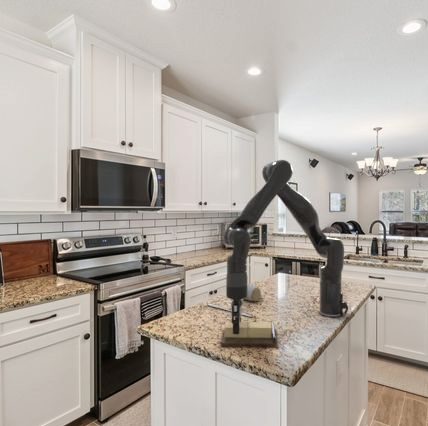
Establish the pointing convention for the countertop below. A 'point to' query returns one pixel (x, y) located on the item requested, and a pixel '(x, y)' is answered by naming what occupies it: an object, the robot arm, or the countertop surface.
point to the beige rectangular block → (260, 330)
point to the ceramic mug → (253, 293)
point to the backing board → (249, 341)
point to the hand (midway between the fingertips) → (237, 329)
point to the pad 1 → (242, 330)
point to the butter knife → (226, 309)
